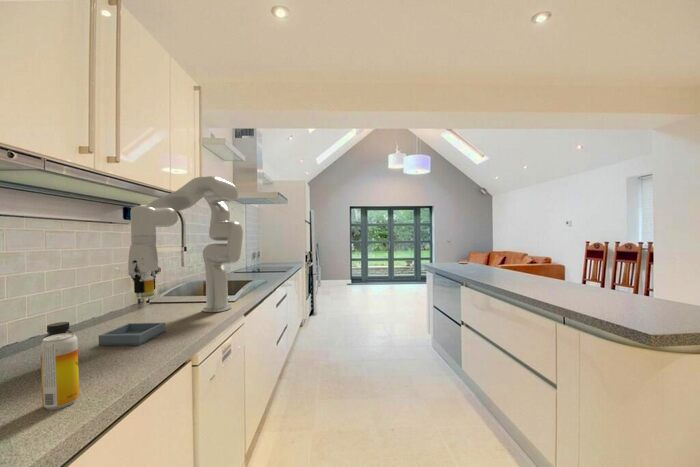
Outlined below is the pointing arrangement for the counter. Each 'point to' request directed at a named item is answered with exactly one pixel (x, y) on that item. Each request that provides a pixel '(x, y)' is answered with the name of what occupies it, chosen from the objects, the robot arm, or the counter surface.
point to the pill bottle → (59, 370)
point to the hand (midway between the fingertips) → (145, 290)
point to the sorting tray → (131, 334)
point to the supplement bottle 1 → (57, 329)
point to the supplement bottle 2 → (147, 286)
